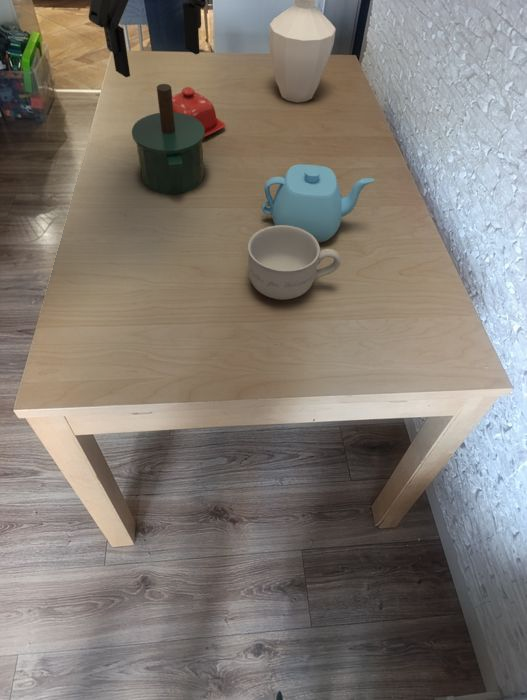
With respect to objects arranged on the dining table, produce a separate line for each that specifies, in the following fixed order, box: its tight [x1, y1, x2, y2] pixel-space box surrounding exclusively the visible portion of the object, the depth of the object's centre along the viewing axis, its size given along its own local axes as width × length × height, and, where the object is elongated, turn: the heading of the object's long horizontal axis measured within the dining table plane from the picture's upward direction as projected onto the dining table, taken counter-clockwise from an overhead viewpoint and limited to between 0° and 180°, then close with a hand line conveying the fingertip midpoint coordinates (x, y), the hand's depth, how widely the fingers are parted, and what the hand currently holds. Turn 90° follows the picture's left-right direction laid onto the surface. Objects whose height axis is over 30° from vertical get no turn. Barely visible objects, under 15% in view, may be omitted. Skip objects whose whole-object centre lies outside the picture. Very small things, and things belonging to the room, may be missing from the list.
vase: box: [268, 0, 337, 104], centre depth 109 cm, size 14×14×25 cm
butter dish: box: [172, 86, 226, 138], centre depth 103 cm, size 12×12×8 cm
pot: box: [136, 141, 205, 195], centre depth 93 cm, size 12×17×8 cm
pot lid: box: [131, 83, 206, 153], centre depth 87 cm, size 13×13×9 cm
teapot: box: [261, 163, 375, 243], centre depth 85 cm, size 13×11×18 cm
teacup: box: [247, 225, 342, 300], centre depth 77 cm, size 14×11×8 cm
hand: (159, 62), depth 80 cm, fingers open, 13 cm apart
